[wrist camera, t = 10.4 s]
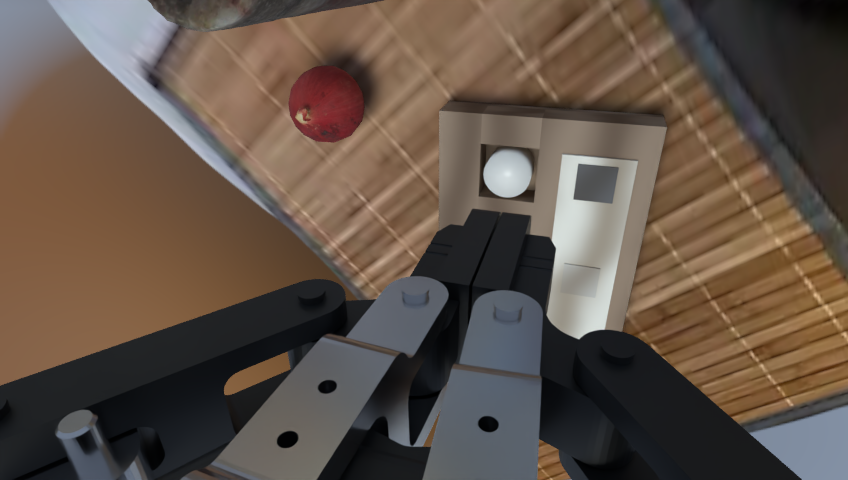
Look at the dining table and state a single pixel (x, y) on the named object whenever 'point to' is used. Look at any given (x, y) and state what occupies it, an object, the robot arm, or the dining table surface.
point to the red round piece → (326, 104)
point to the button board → (562, 194)
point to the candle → (240, 11)
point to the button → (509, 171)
